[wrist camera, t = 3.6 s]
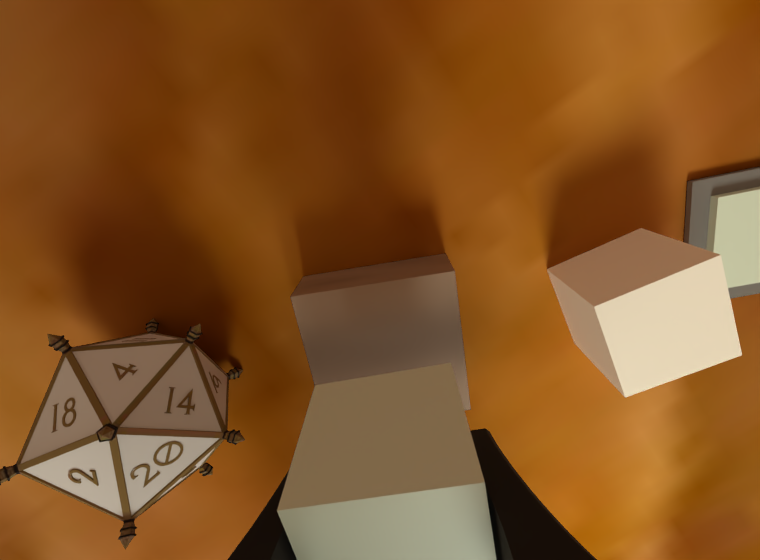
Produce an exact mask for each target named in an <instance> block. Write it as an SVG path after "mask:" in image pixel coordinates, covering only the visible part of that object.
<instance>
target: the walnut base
mask: <svg viewBox="0 0 760 560" xmlns="http://www.w3.org/2000/svg"><path fill="white" fill-rule="evenodd" d="M290 298H291V301H292V305H293V308H294V312H295V316H296V319H297V323H298V326H299V330H300V334H301V337H302V341H303V345H304V348H305V352H306V355H307V359H308V363H309V366H310V370H311V374H312V377H313V381H314V384H315V385H320V384H326V383H332V382H338V381H344V380H350V379H356V378H362V377H368V376H374V375H380V374H386V373H392V372H398V371H404V370H410V369H416V368H422V367H428V366H434V365H440V364H446V363H451V365H452V368H453V372H454V375H455V379H456V382H457V386H458V389H459V393H460V397H461V400H462V404H463V407H464V410H471V408H470V399H469V390H468V381H467V373H466V364H465V355H464V347H463V338H462V329H461V321H460V312H459V303H458V295H457V286H456V277H455V270H454V268H453V267H452V265H451V263H450V261H449V259H448V257H447V255H446V253H444V254H438V255H432V256H426V257H420V258H413V259H407V260H401V261H395V262H389V263H383V264H376V265H370V266H364V267H358V268H352V269H345V270H339V271H333V272H327V273H321V274H315V275H308V276H303V278H302V280H301V281H300V283H299V284H298V286H297V287H296V289H295V290H294V292H293V293H292V295H291V297H290Z"/></svg>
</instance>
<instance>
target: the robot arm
mask: <svg viewBox="0 0 760 560" xmlns="http://www.w3.org/2000/svg"><path fill="white" fill-rule="evenodd" d="M470 432H471V435H472V439H473V442H474V446H475V450H476V453H477V457H478V460H479V464H480V467H481V471H482V474H483V478H484V481H485V487H486V494H487V500H488V507H489V513H490V520H491V527H492V533H493V540H494V546H495V553H496V560H597V559H596V558H595V557H593V556H592V555H591V554H590V553H589V552H588V551H587V550H586V549H585V548H584V547H583V546H582V545H581V544H580V543H579V542H578V541H577V540H576V539H575V538H574V537H573V536H572V535H571V534H570V533H569V532H568V531H567V530H566V529H565V528H564V527H563V526H562V525H561V524H560V522H559V521H558V520H557V519H556V518H555V517H554V516H553V515H552V514H551V513H550V511H549V510H548V509H547V508H546V507H545V506H544V505H543V504H542V503H541V501H540V500H539V499H538V498H537V497H536V495H535V494H534V493H533V492H532V491H531V490H530V488H529V487H528V486H527V485H526V483H525V482H524V481H523V480H522V478H521V477H520V476H519V475H518V473H517V472H516V471H515V469H514V468H513V467H512V465H511V464H510V463H509V461H508V460H507V458H506V457H505V456H504V454H503V453H502V451H501V450H500V448H499V447H498V445H497V444H496V442H495V440H494V439H493V437H492V435H491V434H490V432H489V431H488V430H487V429H478V430H472V431H470ZM288 473H289V471H288V472H287V474H286V476H285V477H284V479H283V480H282V482H281V484H280V485H279V487H278V488H277V490H276V491H275V493H274V494H273V496H272V497H271V499H270V500H269V502H268V503H267V505H266V506H265V508H264V509H263V511H262V512H261V514H260V515H259V517H258V518H257V520H256V521H255V523H254V524H253V526H252V527H251V528H250V530H249V531H248V533H247V534H246V535H245V537H244V538H243V539H242V541H241V542H240V543H239V545H238V546H237V548H236V549H235V550H234V552H233V553H232V554H231V556H230V557H229V558H228V560H297V558H296V556H295V553H294V551H293V549H292V546H291V544H290V541H289V539H288V536H287V534H286V532H285V529H284V527H283V524H282V522H281V519H280V517H279V515H278V512H277V509H278V506H279V502H280V499H281V496H282V492H283V489H284V486H285V483H286V479H287V476H288Z"/></svg>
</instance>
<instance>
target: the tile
mask: <svg viewBox="0 0 760 560" xmlns="http://www.w3.org/2000/svg"><path fill="white" fill-rule="evenodd" d="M684 243H687V244H690V245H693V246H696V247H699V248H702V249H705V250H708V251H711V252H714V253H717V254H720V255H721V258H722V262H723V267H724V272H725V277H726V281H727V286H728V291H729V296H730V298H735V297H741V296H747V295H752V294H758V293H760V167H755V168H750V169H745V170H740V171H735V172H730V173H725V174H720V175H715V176H710V177H705V178H700V179H696V180H691V181H688V182H687V198H686V215H685V231H684Z"/></svg>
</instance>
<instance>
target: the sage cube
mask: <svg viewBox="0 0 760 560" xmlns="http://www.w3.org/2000/svg"><path fill="white" fill-rule="evenodd" d="M277 512H278V515H279V517H280V519H281V522H282V524H283V527H284V529H285V532H286V534H287V536H288V539H289V541H290V544H291V546H292V549H293V551H294V553H295V556H296V558H297V560H496V553H495V546H494V540H493V533H492V527H491V520H490V513H489V507H488V500H487V494H486V487H485V481H484V478H483V474H482V471H481V467H480V464H479V460H478V457H477V453H476V450H475V446H474V442H473V439H472V435H471V432H470V428H469V425H468V421H467V418H466V414H465V411H464V407H463V404H462V400H461V397H460V393H459V389H458V386H457V382H456V379H455V375H454V372H453V368H452V365H451V363H446V364H440V365H434V366H428V367H422V368H416V369H410V370H404V371H398V372H392V373H386V374H380V375H374V376H368V377H362V378H356V379H350V380H344V381H338V382H332V383H326V384H320V385H315V387H314V390H313V394H312V397H311V400H310V403H309V407H308V410H307V413H306V417H305V420H304V423H303V426H302V430H301V433H300V436H299V440H298V443H297V446H296V450H295V453H294V456H293V459H292V463H291V466H290V469H289V473H288V476H287V479H286V483H285V486H284V489H283V492H282V496H281V499H280V502H279V506H278V509H277Z"/></svg>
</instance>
